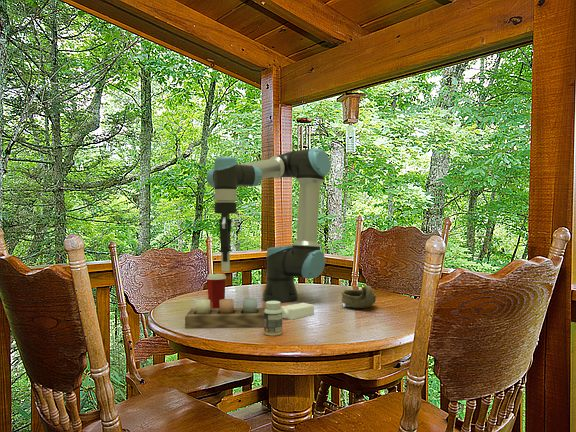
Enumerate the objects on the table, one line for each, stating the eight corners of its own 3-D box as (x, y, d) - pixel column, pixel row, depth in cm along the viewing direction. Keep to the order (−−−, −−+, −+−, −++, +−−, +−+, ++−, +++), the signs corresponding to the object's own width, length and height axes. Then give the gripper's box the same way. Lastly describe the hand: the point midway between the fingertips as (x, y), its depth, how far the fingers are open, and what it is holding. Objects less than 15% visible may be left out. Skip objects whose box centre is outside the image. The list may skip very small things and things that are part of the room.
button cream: (211, 311, 159) (211, 299, 159) (209, 314, 154) (209, 301, 154) (197, 311, 159) (197, 299, 159) (194, 314, 154) (194, 301, 154)
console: (265, 318, 163) (264, 307, 163) (264, 327, 151) (264, 315, 151) (191, 319, 162) (191, 308, 162) (185, 328, 150) (185, 316, 150)
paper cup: (230, 309, 179) (229, 273, 179) (220, 313, 172) (220, 276, 171) (212, 308, 181) (211, 273, 181) (202, 312, 174) (202, 275, 174)
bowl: (367, 303, 189) (366, 279, 189) (386, 312, 172) (386, 285, 172) (335, 305, 186) (335, 280, 186) (352, 314, 169) (352, 287, 169)
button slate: (257, 311, 159) (257, 298, 159) (256, 314, 155) (256, 301, 155) (243, 311, 159) (243, 298, 159) (242, 314, 154) (242, 301, 154)
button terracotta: (234, 311, 159) (234, 298, 159) (233, 314, 154) (232, 301, 154) (220, 311, 159) (220, 298, 159) (218, 314, 154) (218, 301, 154)
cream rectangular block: (276, 318, 165) (276, 306, 164) (301, 312, 173) (301, 301, 173) (289, 321, 160) (289, 309, 160) (314, 315, 169) (314, 304, 169)
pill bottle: (263, 331, 146) (263, 300, 146) (281, 331, 146) (281, 300, 146) (264, 336, 140) (264, 304, 140) (283, 335, 141) (282, 303, 141)
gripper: (216, 202, 163) (217, 268, 163) (211, 201, 150) (211, 273, 150) (238, 202, 163) (238, 268, 163) (234, 201, 150) (234, 273, 150)
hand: (225, 270), depth 156 cm, fingers closed
